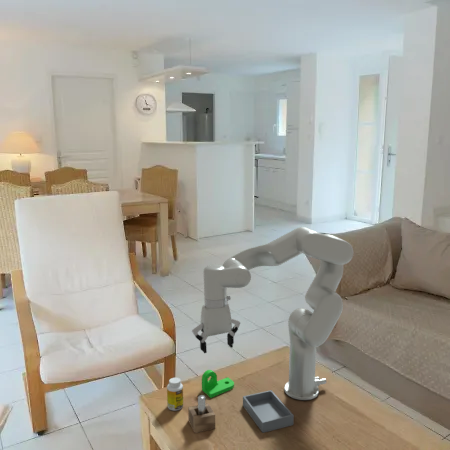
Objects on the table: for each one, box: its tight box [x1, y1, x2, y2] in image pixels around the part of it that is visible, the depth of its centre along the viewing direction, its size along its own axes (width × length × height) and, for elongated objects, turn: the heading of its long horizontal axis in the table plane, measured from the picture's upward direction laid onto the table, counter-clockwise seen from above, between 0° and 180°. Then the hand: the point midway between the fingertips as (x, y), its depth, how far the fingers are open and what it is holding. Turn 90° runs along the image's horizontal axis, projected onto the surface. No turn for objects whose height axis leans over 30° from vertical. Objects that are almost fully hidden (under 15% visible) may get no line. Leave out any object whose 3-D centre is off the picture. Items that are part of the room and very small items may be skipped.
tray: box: [242, 389, 294, 433], centre depth 157 cm, size 11×16×4 cm
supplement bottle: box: [166, 377, 184, 412], centre depth 161 cm, size 6×6×10 cm
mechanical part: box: [201, 369, 235, 399], centre depth 172 cm, size 12×6×8 cm, turn 126°
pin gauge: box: [197, 394, 206, 415], centre depth 151 cm, size 2×2×10 cm
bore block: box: [187, 402, 216, 434], centre depth 152 cm, size 7×7×5 cm
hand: (217, 348), depth 158 cm, fingers open, 9 cm apart
